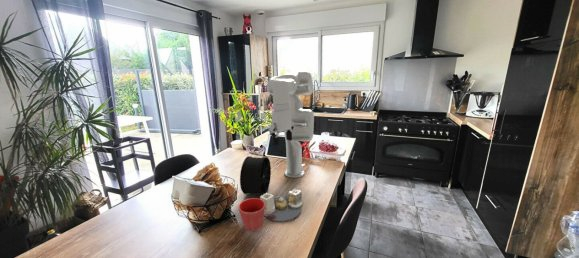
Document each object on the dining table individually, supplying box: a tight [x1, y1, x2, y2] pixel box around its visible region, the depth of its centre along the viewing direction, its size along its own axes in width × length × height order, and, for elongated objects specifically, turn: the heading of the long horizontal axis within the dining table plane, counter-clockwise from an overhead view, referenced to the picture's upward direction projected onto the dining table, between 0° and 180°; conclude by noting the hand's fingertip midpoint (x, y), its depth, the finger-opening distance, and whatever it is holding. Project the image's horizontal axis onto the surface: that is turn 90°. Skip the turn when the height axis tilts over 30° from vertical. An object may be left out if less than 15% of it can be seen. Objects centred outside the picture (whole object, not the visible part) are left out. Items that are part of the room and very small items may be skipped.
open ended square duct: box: [259, 192, 275, 214], centre depth 105 cm, size 7×7×7 cm
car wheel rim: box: [239, 155, 272, 196], centre depth 121 cm, size 20×10×20 cm, turn 168°
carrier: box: [263, 188, 304, 223], centre depth 107 cm, size 19×19×8 cm
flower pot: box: [238, 197, 265, 231], centre depth 96 cm, size 11×11×10 cm
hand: (282, 142), depth 109 cm, fingers open, 9 cm apart
